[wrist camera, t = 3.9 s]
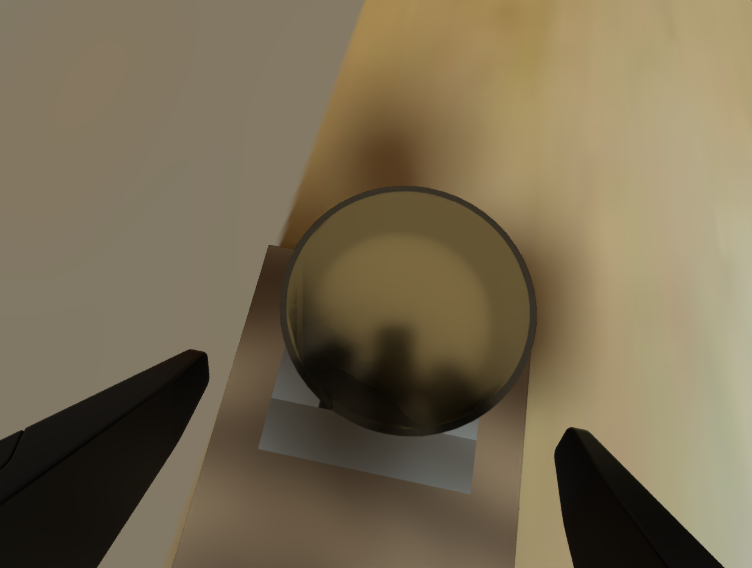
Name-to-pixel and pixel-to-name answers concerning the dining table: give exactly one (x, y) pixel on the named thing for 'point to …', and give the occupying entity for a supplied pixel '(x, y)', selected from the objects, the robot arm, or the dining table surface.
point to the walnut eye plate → (344, 473)
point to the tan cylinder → (408, 311)
